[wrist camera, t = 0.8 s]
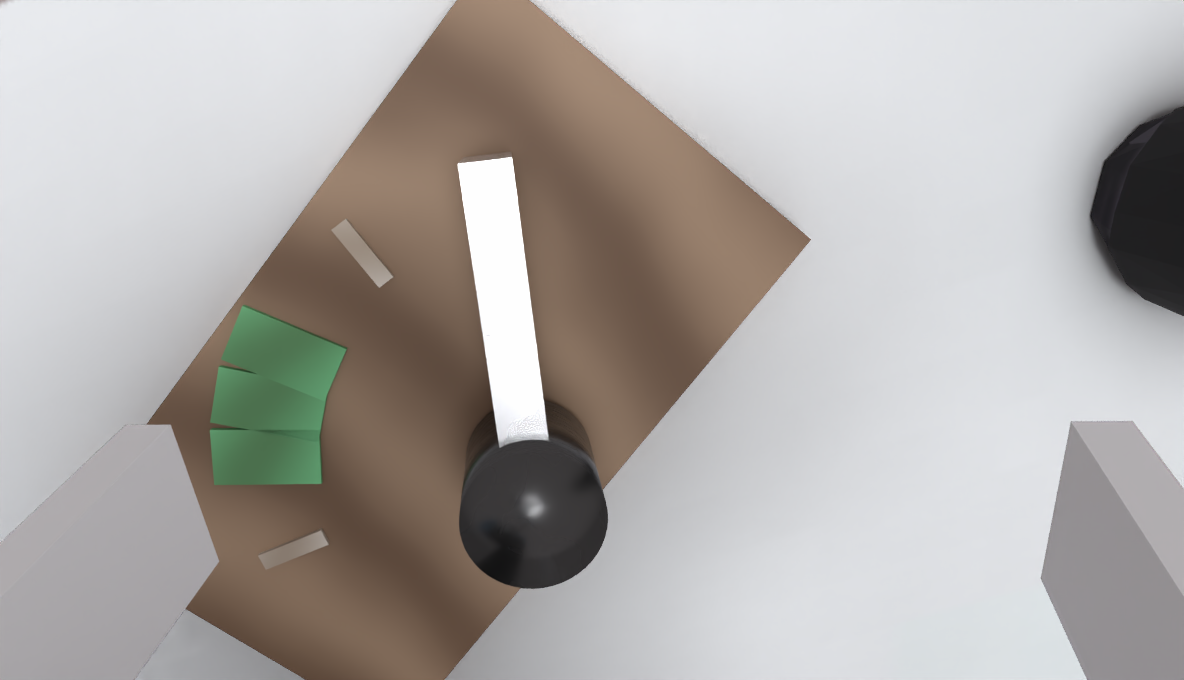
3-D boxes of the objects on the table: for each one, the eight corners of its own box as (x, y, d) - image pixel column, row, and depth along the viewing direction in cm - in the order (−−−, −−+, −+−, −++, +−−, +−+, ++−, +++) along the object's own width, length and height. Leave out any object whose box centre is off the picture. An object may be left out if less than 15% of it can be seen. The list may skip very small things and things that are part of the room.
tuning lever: (598, 507, 32) (615, 577, 27) (475, 524, 32) (470, 598, 27) (555, 146, 29) (566, 153, 24) (418, 162, 28) (400, 172, 24)
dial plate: (402, 709, 35) (397, 737, 34) (84, 518, 32) (61, 539, 31) (797, 233, 32) (813, 240, 31) (485, -31, 29) (484, -39, 27)
